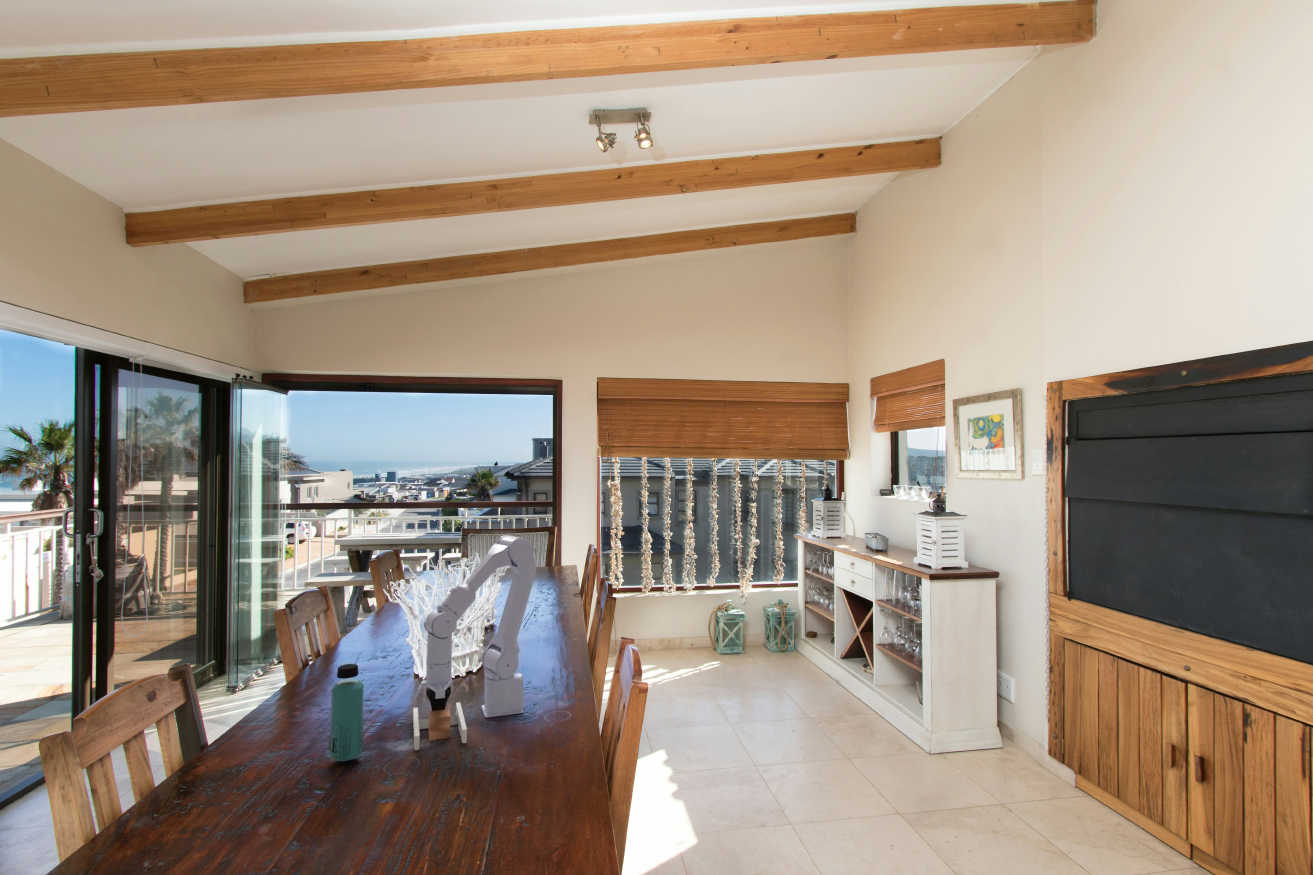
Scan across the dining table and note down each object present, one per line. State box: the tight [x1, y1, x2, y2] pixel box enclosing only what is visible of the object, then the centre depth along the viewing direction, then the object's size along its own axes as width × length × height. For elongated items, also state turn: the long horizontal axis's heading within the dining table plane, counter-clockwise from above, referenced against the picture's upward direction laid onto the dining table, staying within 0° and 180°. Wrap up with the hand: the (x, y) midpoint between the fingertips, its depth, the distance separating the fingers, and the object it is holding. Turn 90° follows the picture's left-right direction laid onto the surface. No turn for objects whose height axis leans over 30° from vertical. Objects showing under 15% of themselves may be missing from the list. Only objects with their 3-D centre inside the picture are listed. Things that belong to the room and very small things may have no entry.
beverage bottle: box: [328, 663, 365, 762], centre depth 137 cm, size 6×7×20 cm
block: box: [428, 708, 452, 741], centre depth 150 cm, size 4×4×5 cm
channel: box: [412, 701, 468, 751], centre depth 153 cm, size 11×18×3 cm, turn 21°
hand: (437, 719), depth 156 cm, fingers closed
